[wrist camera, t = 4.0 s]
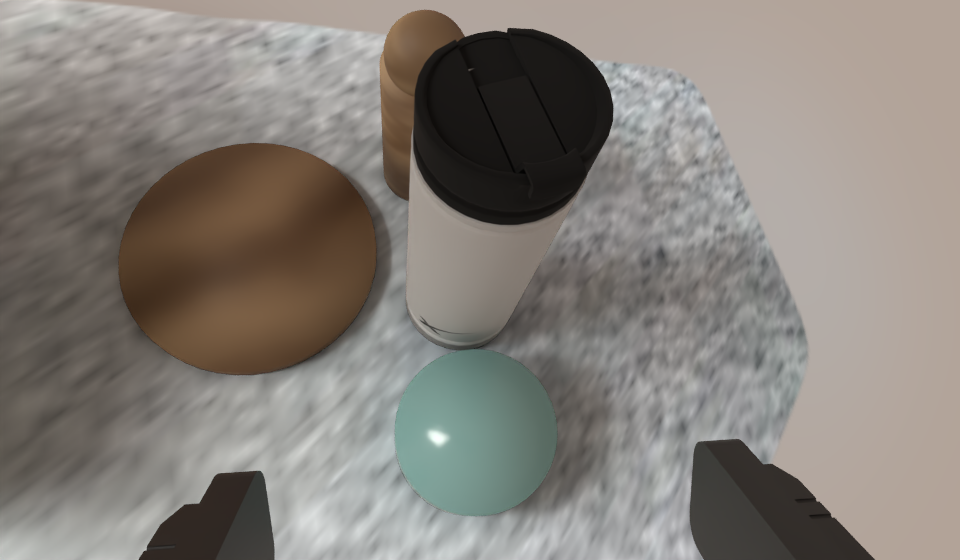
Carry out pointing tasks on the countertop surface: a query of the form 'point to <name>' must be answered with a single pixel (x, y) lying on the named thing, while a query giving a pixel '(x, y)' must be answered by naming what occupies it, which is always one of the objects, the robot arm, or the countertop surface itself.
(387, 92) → the pepper mill
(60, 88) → the countertop surface
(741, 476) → the robot arm
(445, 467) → the teal glossy pebble
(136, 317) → the trivet
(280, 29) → the countertop surface
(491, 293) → the travel mug
